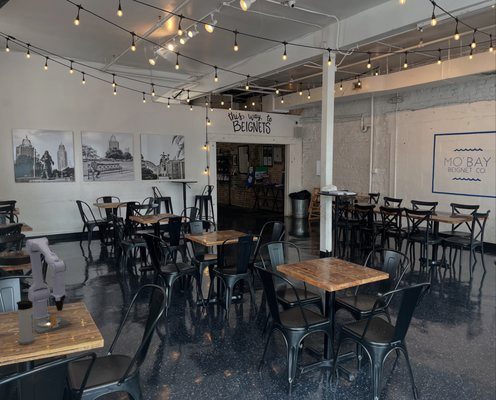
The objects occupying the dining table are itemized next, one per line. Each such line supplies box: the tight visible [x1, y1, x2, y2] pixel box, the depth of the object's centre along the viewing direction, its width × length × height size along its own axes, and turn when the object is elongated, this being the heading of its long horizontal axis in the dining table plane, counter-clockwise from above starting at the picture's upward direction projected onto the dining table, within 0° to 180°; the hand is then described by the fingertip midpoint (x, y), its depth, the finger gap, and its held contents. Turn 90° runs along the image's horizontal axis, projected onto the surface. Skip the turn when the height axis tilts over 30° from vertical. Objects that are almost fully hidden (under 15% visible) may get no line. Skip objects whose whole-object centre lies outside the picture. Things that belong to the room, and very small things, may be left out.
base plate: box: [34, 315, 72, 335], centre depth 206 cm, size 16×16×3 cm
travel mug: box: [16, 300, 36, 346], centre depth 185 cm, size 6×7×20 cm
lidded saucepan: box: [37, 315, 61, 328], centre depth 205 cm, size 14×11×5 cm
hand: (59, 310), depth 203 cm, fingers closed
